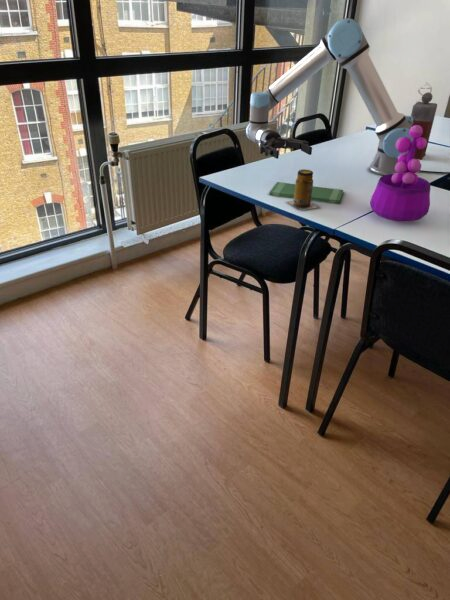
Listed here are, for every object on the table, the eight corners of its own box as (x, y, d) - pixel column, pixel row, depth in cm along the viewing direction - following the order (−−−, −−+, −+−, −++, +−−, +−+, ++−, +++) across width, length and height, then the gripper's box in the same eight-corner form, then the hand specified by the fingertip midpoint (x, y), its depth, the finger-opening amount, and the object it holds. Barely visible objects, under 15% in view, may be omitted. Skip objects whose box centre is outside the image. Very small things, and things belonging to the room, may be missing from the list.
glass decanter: (426, 154, 222) (441, 91, 206) (421, 160, 214) (436, 95, 198) (407, 151, 226) (420, 89, 210) (401, 157, 217) (415, 93, 202)
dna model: (419, 149, 228) (435, 83, 212) (406, 148, 230) (420, 83, 213) (417, 146, 234) (432, 81, 218) (404, 145, 235) (418, 81, 219)
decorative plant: (364, 223, 152) (382, 128, 135) (370, 204, 166) (387, 116, 150) (425, 232, 146) (451, 134, 130) (426, 211, 161) (449, 121, 144)
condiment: (304, 199, 169) (308, 167, 163) (318, 207, 163) (322, 174, 156) (288, 202, 166) (290, 170, 160) (300, 210, 160) (304, 177, 153)
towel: (343, 192, 176) (343, 189, 175) (339, 203, 166) (339, 200, 165) (277, 184, 183) (277, 181, 182) (269, 194, 173) (269, 191, 172)
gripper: (295, 145, 188) (323, 159, 172) (239, 151, 181) (262, 166, 164) (297, 126, 184) (325, 139, 168) (240, 132, 177) (263, 145, 160)
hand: (294, 153), depth 166 cm, fingers open, 13 cm apart
